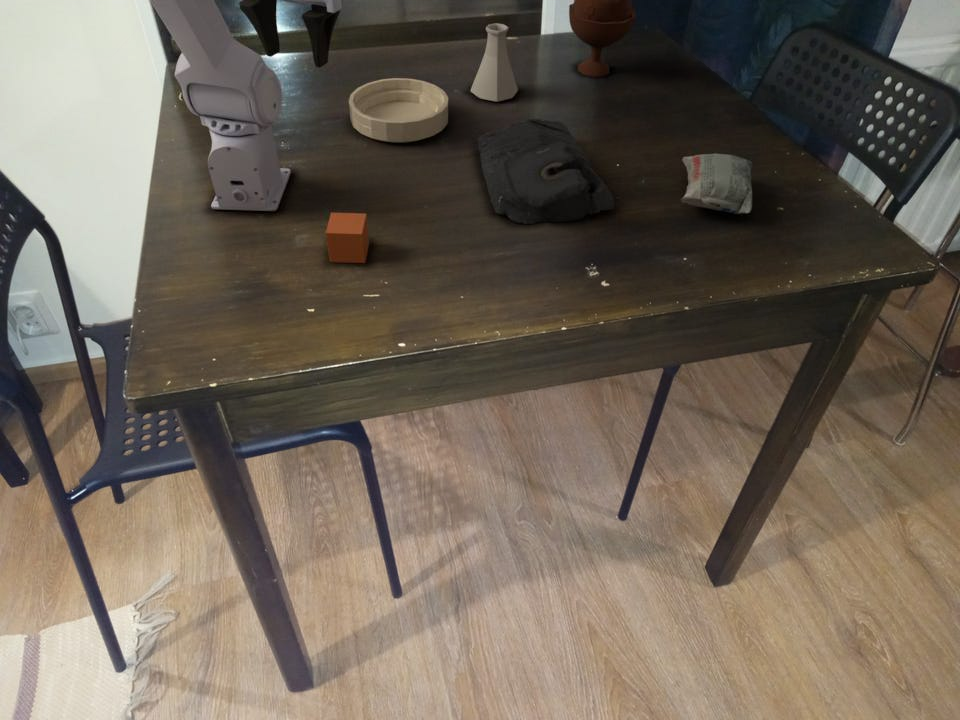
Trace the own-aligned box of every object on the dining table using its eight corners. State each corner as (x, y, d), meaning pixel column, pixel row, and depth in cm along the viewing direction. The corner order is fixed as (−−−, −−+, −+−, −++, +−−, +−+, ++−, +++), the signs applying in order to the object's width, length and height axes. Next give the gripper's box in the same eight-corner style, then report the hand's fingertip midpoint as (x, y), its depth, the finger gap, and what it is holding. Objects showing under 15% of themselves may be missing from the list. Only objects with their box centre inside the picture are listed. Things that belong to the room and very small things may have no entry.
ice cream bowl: (623, 58, 122) (640, -36, 111) (626, 86, 114) (644, -13, 103) (562, 54, 122) (573, -41, 112) (561, 81, 114) (573, -18, 104)
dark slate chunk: (575, 134, 102) (579, 102, 99) (618, 219, 87) (625, 185, 83) (471, 138, 100) (472, 107, 97) (498, 227, 85) (500, 193, 81)
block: (365, 263, 79) (362, 234, 76) (329, 262, 79) (325, 232, 76) (369, 242, 82) (366, 213, 79) (335, 241, 82) (331, 212, 79)
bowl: (446, 147, 98) (446, 124, 95) (345, 144, 98) (342, 120, 95) (449, 102, 108) (450, 79, 105) (358, 99, 108) (356, 76, 105)
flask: (490, 78, 114) (493, 14, 107) (525, 92, 111) (531, 27, 104) (462, 92, 110) (463, 27, 103) (497, 107, 107) (501, 40, 100)
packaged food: (676, 216, 87) (686, 182, 84) (679, 169, 96) (689, 136, 92) (746, 228, 86) (760, 194, 83) (744, 180, 94) (756, 147, 91)
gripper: (349, -55, 85) (359, 58, 95) (249, -71, 89) (269, 39, 98) (318, -39, 80) (332, 77, 90) (214, -57, 84) (238, 57, 94)
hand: (297, 59), depth 94 cm, fingers open, 7 cm apart
